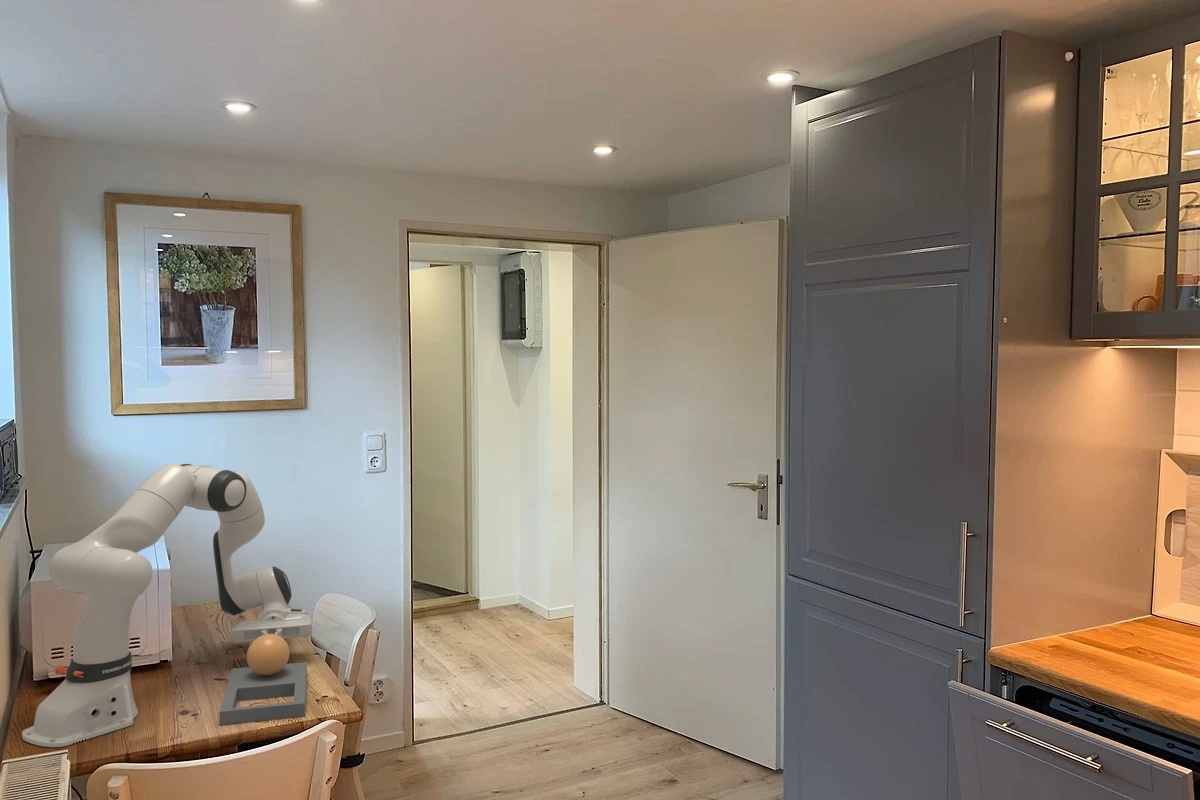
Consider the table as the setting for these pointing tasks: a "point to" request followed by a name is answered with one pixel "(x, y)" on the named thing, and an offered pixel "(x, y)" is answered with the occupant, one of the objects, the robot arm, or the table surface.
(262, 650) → the ball
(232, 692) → the deck
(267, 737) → the table surface
